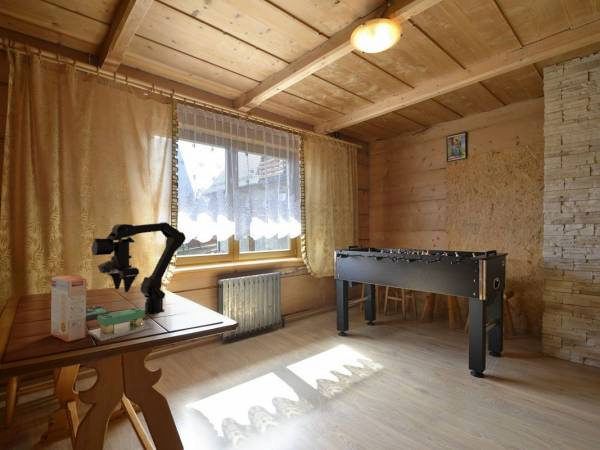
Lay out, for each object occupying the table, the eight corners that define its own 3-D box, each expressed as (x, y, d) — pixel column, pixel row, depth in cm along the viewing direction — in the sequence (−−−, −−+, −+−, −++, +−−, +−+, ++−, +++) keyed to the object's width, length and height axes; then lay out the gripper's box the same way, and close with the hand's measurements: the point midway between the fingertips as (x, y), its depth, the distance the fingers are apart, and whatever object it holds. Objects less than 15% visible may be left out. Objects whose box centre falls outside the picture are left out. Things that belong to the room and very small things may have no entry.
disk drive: (70, 316, 134) (83, 322, 126) (69, 310, 134) (83, 315, 126) (96, 311, 143) (111, 316, 134) (96, 305, 143) (111, 309, 134)
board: (137, 314, 122) (137, 307, 122) (144, 317, 118) (144, 310, 118) (97, 322, 111) (97, 315, 111) (104, 326, 107) (104, 319, 107)
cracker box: (87, 337, 107) (87, 278, 107) (66, 343, 102) (67, 280, 102) (70, 330, 115) (70, 274, 115) (50, 335, 110) (50, 276, 110)
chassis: (139, 321, 125) (139, 308, 125) (153, 327, 118) (153, 313, 118) (88, 333, 111) (88, 318, 111) (100, 341, 104) (100, 325, 104)
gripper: (91, 253, 128) (91, 291, 128) (109, 256, 117) (109, 297, 117) (120, 252, 137) (120, 286, 137) (139, 254, 126) (139, 292, 126)
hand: (121, 290), depth 129 cm, fingers open, 9 cm apart
